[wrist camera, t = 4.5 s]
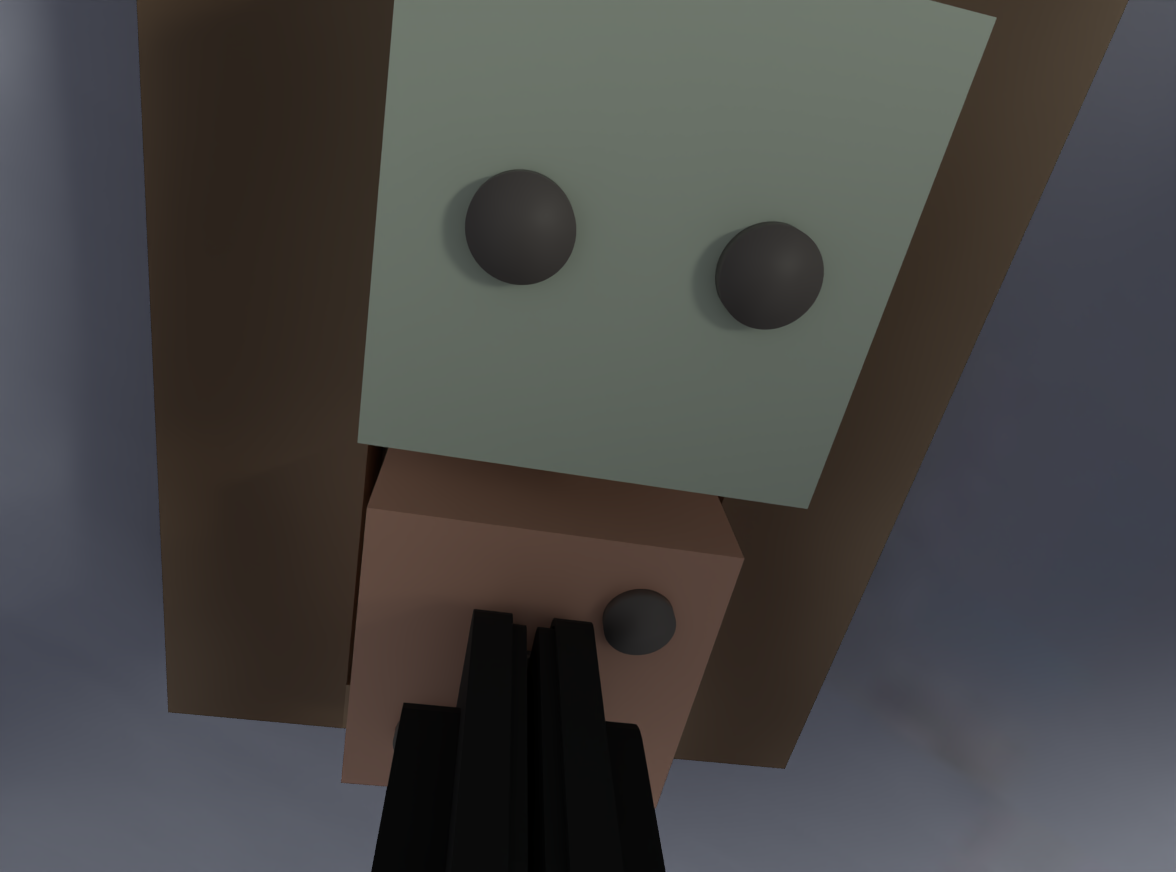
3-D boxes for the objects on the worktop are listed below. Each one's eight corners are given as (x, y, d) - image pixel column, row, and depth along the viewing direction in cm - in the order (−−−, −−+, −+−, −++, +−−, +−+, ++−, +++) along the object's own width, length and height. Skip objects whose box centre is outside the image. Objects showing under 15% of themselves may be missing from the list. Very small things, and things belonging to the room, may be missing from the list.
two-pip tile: (831, 31, 10) (1010, 15, 6) (726, 376, 12) (813, 517, 8) (452, -63, 9) (401, -143, 6) (410, 322, 11) (354, 451, 8)
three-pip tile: (689, 429, 14) (748, 567, 10) (627, 640, 16) (657, 819, 12) (411, 384, 13) (363, 515, 9) (385, 612, 15) (337, 794, 11)
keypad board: (1298, -666, 9) (1521, -878, 7) (756, 689, 18) (784, 768, 16) (195, -1151, 7) (65, -1627, 5) (213, 631, 16) (168, 711, 14)
